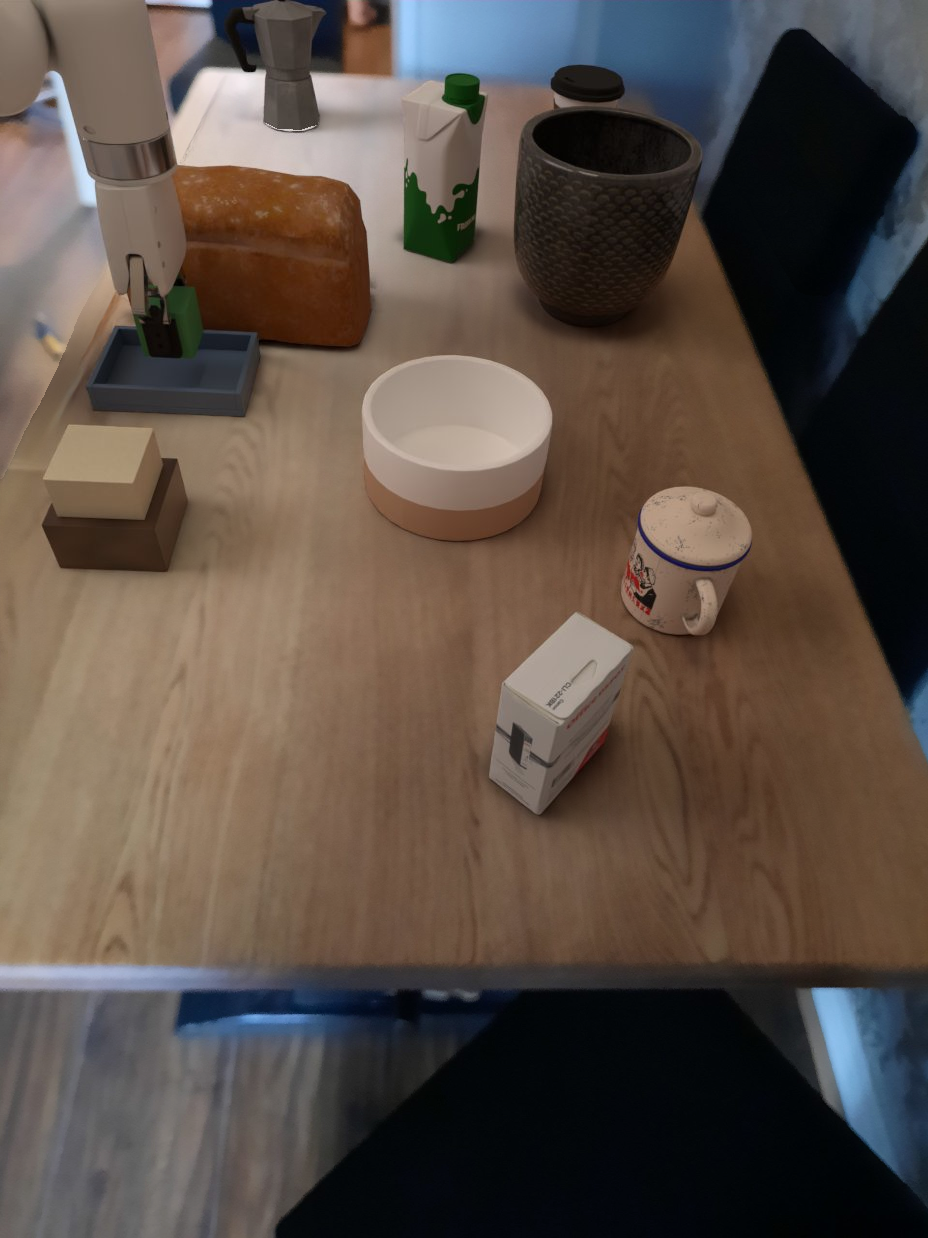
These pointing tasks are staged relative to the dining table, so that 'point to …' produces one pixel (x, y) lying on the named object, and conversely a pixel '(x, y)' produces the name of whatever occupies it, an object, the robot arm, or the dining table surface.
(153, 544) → the walnut block
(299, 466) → the dining table surface
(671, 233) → the planter
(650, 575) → the teacup with lid
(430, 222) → the milk carton
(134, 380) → the tray
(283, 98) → the coffeepot
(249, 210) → the bread
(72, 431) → the cream block
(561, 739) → the ink box
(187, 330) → the green block
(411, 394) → the bowl
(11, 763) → the dining table surface
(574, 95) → the coffee cup
